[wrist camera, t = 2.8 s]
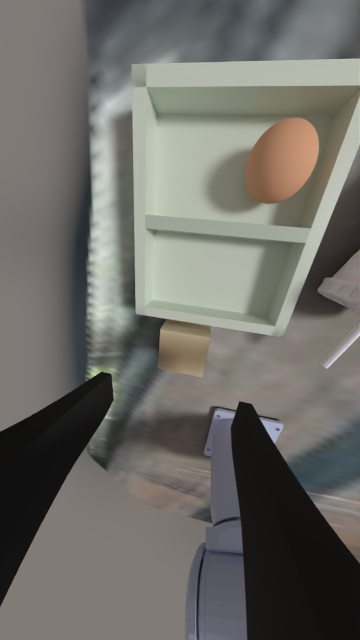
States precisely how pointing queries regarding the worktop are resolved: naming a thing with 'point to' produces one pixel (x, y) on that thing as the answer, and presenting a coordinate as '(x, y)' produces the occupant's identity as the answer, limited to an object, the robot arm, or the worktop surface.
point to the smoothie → (344, 301)
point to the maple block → (184, 347)
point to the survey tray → (232, 186)
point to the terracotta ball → (282, 160)
